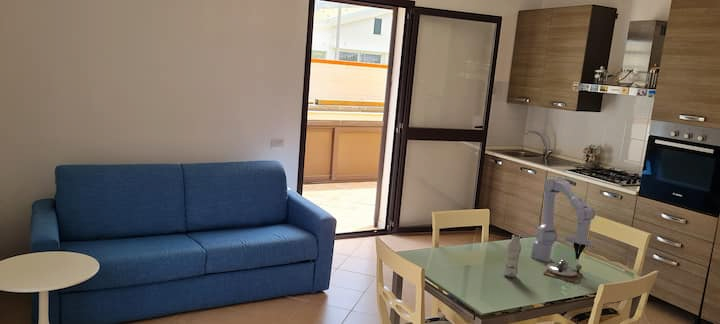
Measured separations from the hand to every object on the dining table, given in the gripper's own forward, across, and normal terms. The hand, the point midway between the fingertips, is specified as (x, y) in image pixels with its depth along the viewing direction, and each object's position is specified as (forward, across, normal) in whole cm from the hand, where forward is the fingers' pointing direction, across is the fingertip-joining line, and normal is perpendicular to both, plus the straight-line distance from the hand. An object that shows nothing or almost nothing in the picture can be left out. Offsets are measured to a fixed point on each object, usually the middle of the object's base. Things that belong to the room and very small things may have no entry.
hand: (577, 258), depth 271 cm
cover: (+7, -6, 0) cm, 9 cm away
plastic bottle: (+10, -26, -24) cm, 37 cm away
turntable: (+9, -6, 0) cm, 11 cm away
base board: (+9, -5, -1) cm, 11 cm away
